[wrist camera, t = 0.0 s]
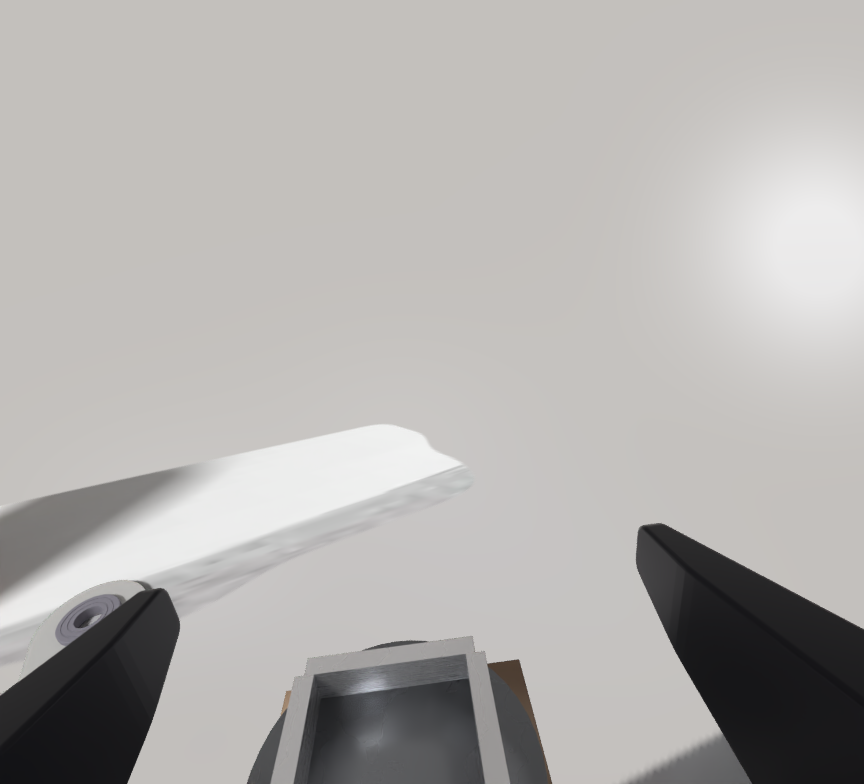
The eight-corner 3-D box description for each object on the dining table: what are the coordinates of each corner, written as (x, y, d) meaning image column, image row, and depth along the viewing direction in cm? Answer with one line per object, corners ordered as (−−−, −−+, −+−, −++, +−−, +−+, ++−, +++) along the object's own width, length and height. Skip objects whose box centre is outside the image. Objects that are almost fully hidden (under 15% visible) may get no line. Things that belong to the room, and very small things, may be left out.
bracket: (152, 576, 34) (136, 540, 33) (144, 688, 26) (122, 645, 24) (46, 617, 32) (24, 579, 30) (-1, 756, 23) (-35, 711, 22)
